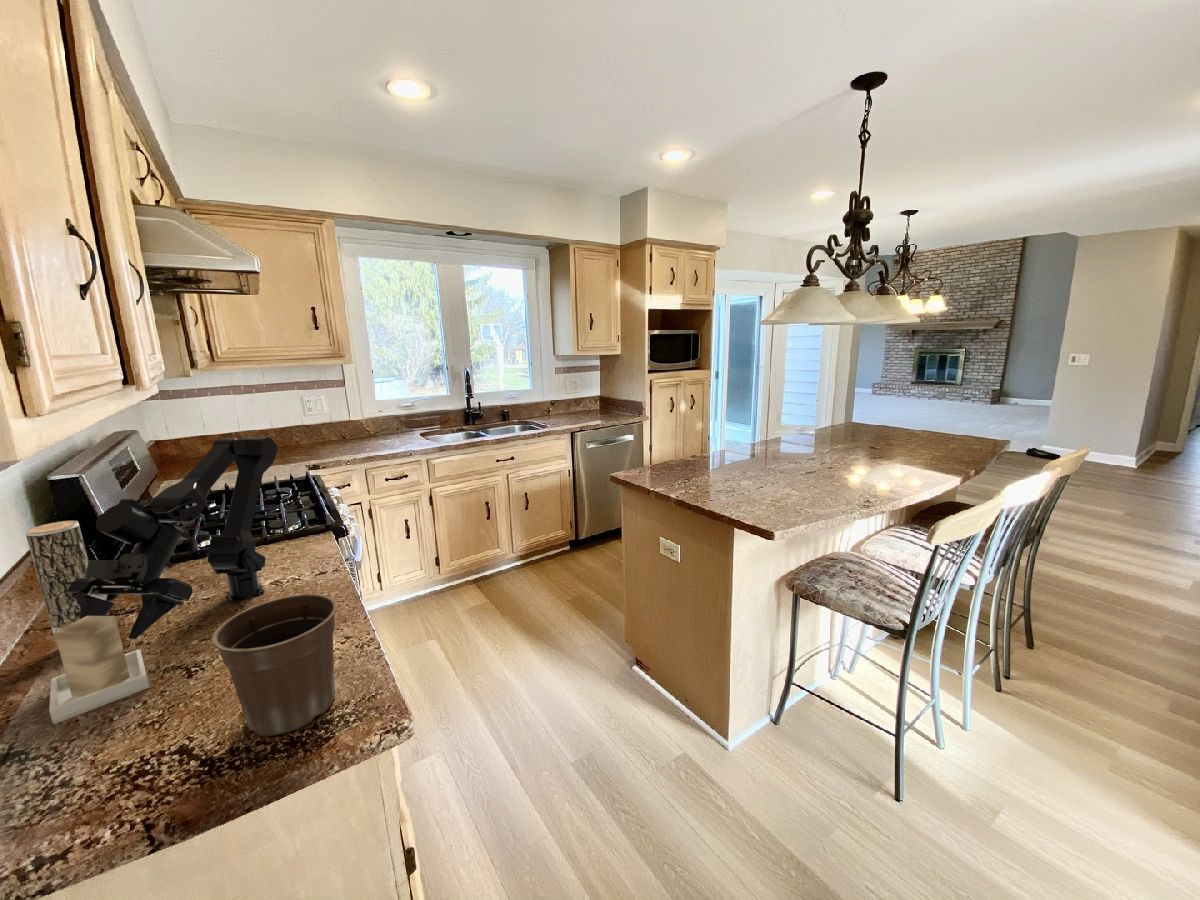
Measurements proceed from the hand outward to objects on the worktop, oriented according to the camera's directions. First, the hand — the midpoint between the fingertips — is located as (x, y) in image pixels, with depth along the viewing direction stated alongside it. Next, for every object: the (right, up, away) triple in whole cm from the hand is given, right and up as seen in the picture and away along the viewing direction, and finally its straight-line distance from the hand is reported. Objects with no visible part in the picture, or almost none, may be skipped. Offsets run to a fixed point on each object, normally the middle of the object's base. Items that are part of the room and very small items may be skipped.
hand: (106, 638), depth 84 cm
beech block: (0, -8, -1) cm, 8 cm away
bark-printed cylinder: (-17, -6, +13) cm, 22 cm away
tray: (0, -9, -1) cm, 9 cm away
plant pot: (+36, -9, -6) cm, 38 cm away
